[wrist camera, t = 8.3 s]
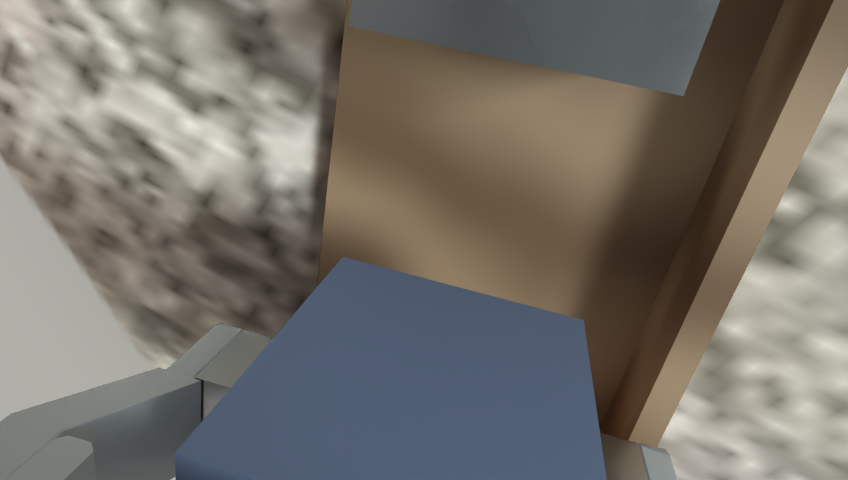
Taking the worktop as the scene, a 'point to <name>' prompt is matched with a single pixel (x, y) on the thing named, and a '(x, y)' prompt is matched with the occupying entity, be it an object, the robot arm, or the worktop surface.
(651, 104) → the rack
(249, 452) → the blue block
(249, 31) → the worktop surface
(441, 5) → the bookend
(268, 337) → the robot arm
